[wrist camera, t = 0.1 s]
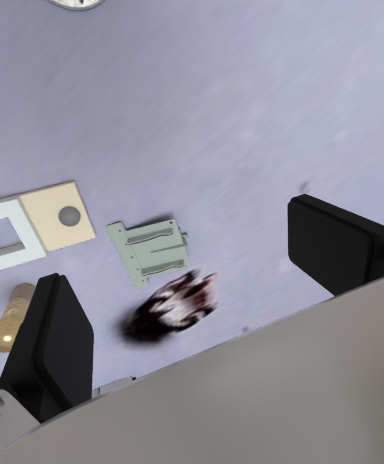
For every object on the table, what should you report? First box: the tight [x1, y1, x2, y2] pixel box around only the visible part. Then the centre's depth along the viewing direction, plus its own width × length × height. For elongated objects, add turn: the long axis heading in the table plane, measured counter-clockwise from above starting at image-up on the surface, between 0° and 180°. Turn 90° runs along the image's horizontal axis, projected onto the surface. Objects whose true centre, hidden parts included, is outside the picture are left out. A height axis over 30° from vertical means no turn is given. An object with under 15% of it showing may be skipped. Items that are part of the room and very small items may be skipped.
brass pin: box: [0, 283, 36, 353], centre depth 42 cm, size 4×4×12 cm
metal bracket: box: [106, 219, 191, 288], centre depth 51 cm, size 14×6×15 cm
